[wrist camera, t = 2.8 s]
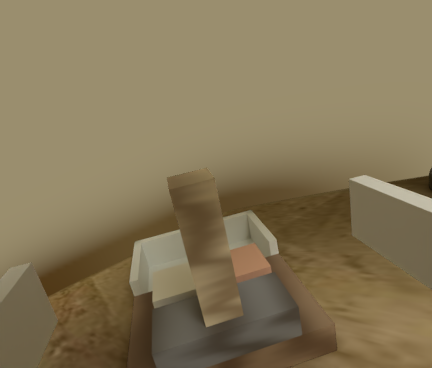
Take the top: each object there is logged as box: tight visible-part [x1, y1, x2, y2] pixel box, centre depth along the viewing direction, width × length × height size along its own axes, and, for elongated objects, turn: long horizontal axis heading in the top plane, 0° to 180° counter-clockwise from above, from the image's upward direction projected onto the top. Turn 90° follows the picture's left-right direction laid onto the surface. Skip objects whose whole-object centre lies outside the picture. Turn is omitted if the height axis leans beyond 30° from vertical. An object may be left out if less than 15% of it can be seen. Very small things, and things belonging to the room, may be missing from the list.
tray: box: [129, 210, 279, 296], centre depth 40 cm, size 18×10×5 cm, turn 101°
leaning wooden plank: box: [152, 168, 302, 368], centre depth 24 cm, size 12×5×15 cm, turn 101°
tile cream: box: [152, 262, 197, 308], centre depth 31 cm, size 5×5×3 cm
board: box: [127, 253, 337, 368], centre depth 30 cm, size 18×12×3 cm, turn 101°
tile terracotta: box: [230, 243, 272, 283], centre depth 32 cm, size 5×5×3 cm
